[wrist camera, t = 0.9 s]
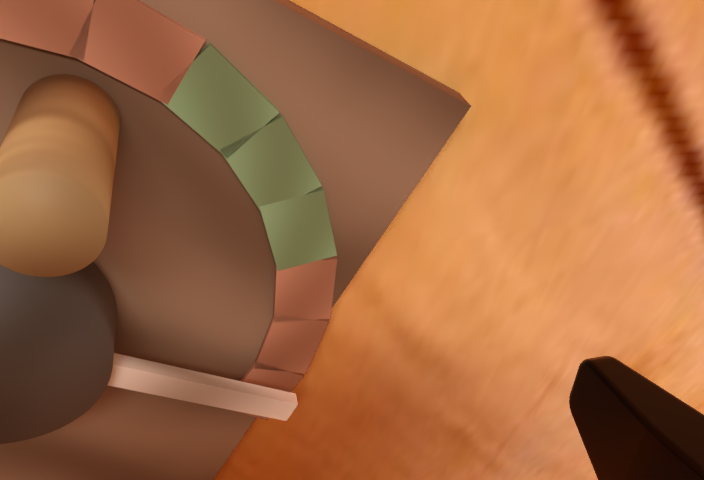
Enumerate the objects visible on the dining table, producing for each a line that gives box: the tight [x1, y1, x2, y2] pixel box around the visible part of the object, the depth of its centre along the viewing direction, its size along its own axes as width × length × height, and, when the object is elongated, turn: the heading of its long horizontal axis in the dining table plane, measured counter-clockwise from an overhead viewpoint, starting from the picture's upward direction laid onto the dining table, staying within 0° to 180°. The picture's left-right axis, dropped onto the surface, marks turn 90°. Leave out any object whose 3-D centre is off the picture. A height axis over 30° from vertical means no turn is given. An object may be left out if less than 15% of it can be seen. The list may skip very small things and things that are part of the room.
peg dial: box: [0, 74, 298, 444], centre depth 18 cm, size 14×12×5 cm
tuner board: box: [0, 0, 471, 480], centre depth 20 cm, size 24×21×1 cm
